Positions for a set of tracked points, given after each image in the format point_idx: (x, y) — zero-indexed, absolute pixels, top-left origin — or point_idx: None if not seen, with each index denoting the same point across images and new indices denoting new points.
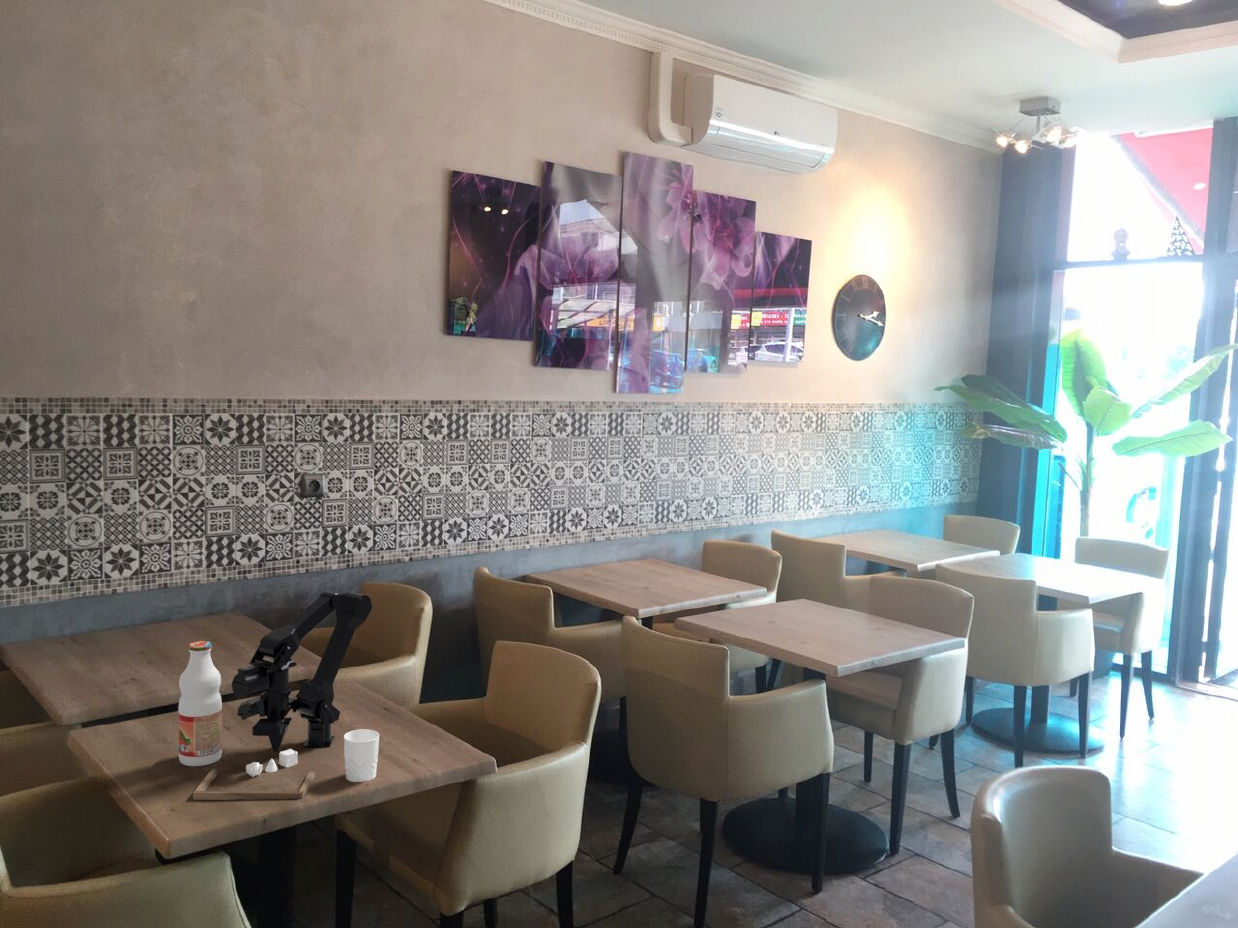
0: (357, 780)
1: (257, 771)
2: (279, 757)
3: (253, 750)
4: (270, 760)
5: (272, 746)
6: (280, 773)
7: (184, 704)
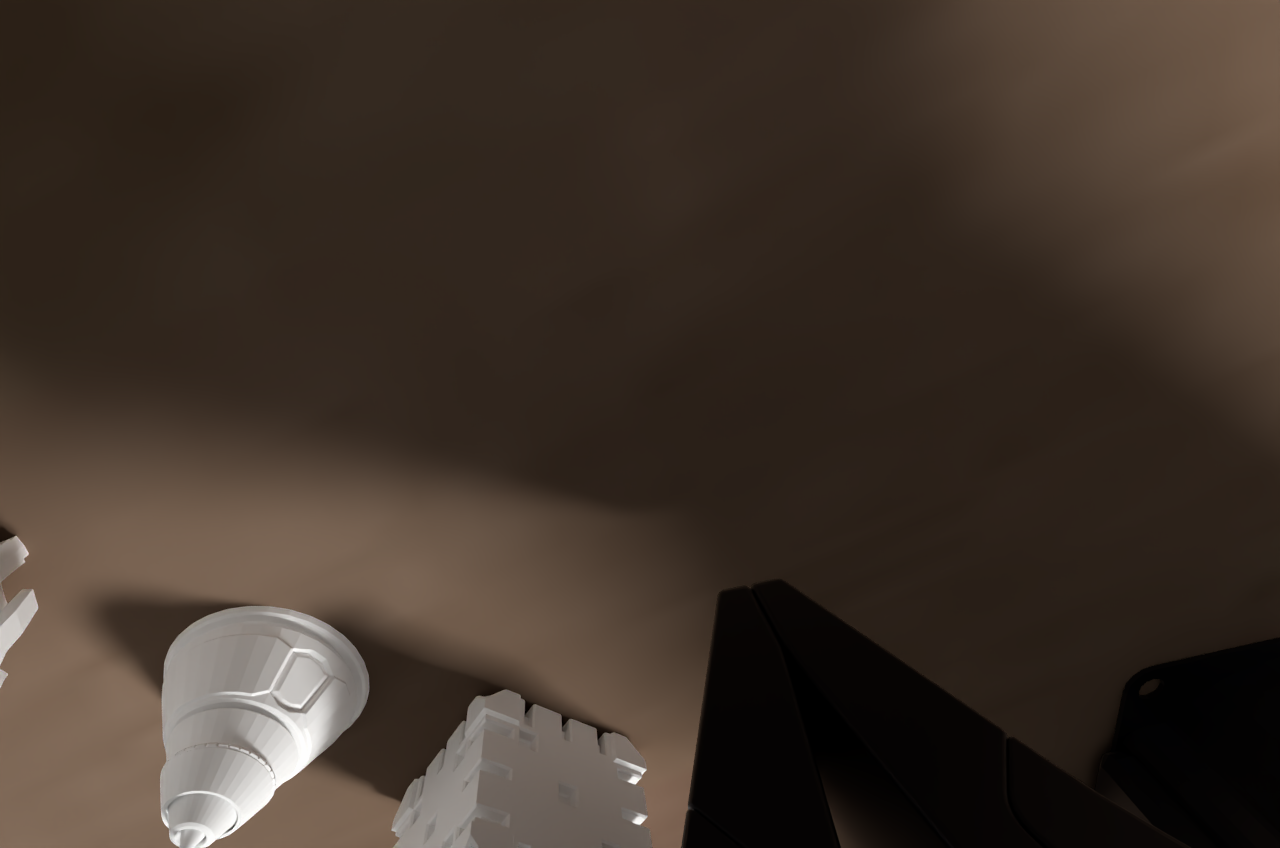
0: None
1: None
2: (479, 776)
3: (1012, 21)
4: (171, 817)
5: (710, 668)
6: None
7: None
